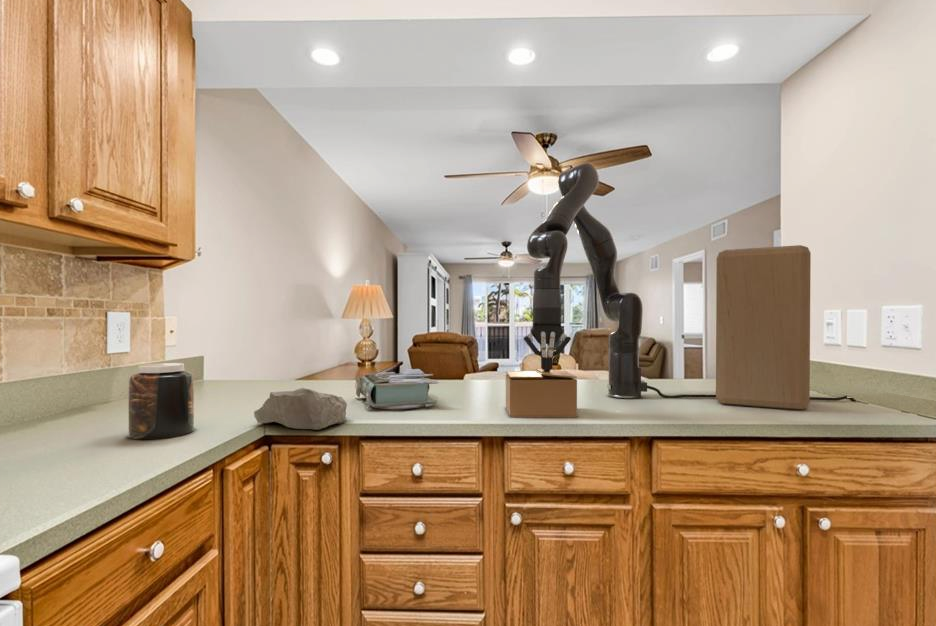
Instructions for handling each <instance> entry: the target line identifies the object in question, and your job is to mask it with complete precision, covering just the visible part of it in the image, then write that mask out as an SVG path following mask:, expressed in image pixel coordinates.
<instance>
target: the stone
mask: <svg viewBox="0 0 936 626" xmlns="http://www.w3.org/2000/svg"><path fill="white" fill-rule="evenodd" d="M347 407H348V404H347V401H346V400H345V398H343V397H342V396H338V395H334V394H330V393H323V392H319V391H316V390H313V389H310V388H305V387H301V388H297V389H295V390H284V391H283V390H282V391H271V392H270V393H269V397H267V399H266V400H265V401H264V402H263V404H262V406H260V408H258V409H256V410H254V411H253V415H254V418H255V421H256V422H257V423H258V424H268V423H273V422H275V423H278V424H280V425H282V426H284V427H286V428H291V429H298V430H299V429H300V430H314V431H315V430H317V431H319V430H322V429H324V428H327V427H329V426H332V425H339V424H342V423H344V422H345V421H346V417H347V415H346V414H347V411H346V410H347Z"/></svg>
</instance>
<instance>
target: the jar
mask: <svg viewBox="0 0 936 626" xmlns="http://www.w3.org/2000/svg"><path fill="white" fill-rule="evenodd" d="M137 372H138V373H135V374H133V375H131V376H130V377H129V380H128V438H129V439H132V440H159V439H168V438H174V437H179V436H183V435H184V436H185V435H187V434H190V433H192V432H194V429H195V428H194V427H195V422H194V421H195V412H194V411H195V405H194V404H195V402H194V401H195V399H194V398H195V396H194V395H195V394H194V393H195V392H194V375H193V373H191V372H189V371H186V369H185V363H181V362H164V363H163V362H161V363H147V364H140V365H138V371H137Z"/></svg>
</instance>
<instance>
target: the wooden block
mask: <svg viewBox="0 0 936 626" xmlns="http://www.w3.org/2000/svg"><path fill="white" fill-rule="evenodd" d="M811 254H812V253H811V251H810V249H809V247H808V246H804V245H801V244H797V245H796V244H795V245H783V246H782V245H781V246H766V247H764V246H763V247H750V248H749V247H747V248H736V249H735V248H732V249H724V250H722V251H720V252H718V254H717V256H716V274H715V275H716V279H715V281H716V282H715V283H716V286H715V287H716V288H715V289H716V290H715V291H716V293H715V295H716V296H715V297H716V300H715V302H716V303H715V304H716V305H715V306H716V307H715V308H716V309H715V329H716V330H715V395H716V397H715V398H716V400H717V402H718V403H720V404H723V405H724V406H725V405H726V406H736V407H737V406H739V407H751V408H765V409H778V410H788V411H789V410H791V411H803V410H806V409H808V406H809V405H810V401H811V400H810V397H811V395H810V392H811V391H810V388H811V386H810V383H811V271H812V269H811V264H812V263H811V259H812V258H811V256H812V255H811Z"/></svg>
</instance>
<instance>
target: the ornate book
mask: <svg viewBox="0 0 936 626" xmlns="http://www.w3.org/2000/svg"><path fill="white" fill-rule="evenodd" d="M430 376H431V377H432V376H434V373H425V372H424V371H422V370H421V369H420V368H406V369H404V370H402V371H400V372H399V373H396V371H390V372H387V371H381V372H374V373H366V374H365V375H364V374H363V376H361V377H360V374H357V376H356V377H355V383H354V384H355V385H354V386H355V394H356V396H357V397H358V398H360V397H361V396H363V397H364V398H365V400H366V401H365V402H366V405H367V406H369V407H371V408H375V409H381V410H411V409H419V408H424V407H426V408H428V407H431V406H433V405H435V404H438V403H439V401H438V400H436V399H434V398H432V397H431V396H429V391H430V385H435V384H436V385H438V384H446V382H444V381H439V380H437V379H431V378H427V377H430Z"/></svg>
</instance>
